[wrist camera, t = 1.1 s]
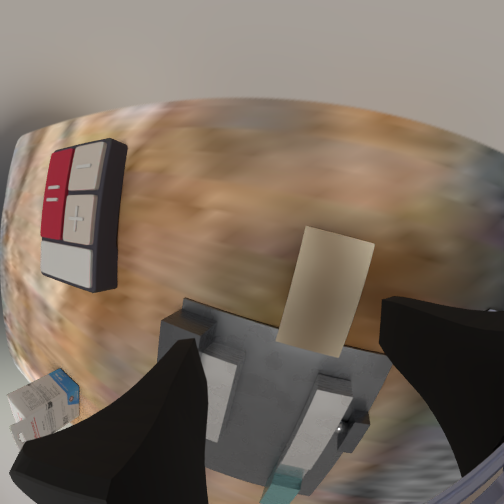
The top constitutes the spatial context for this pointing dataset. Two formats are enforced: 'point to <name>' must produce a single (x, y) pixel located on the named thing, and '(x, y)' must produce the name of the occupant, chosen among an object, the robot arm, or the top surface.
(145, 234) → the top surface
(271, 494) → the sliding jaw
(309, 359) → the vise base
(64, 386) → the ink box
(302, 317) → the birch block
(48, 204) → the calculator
